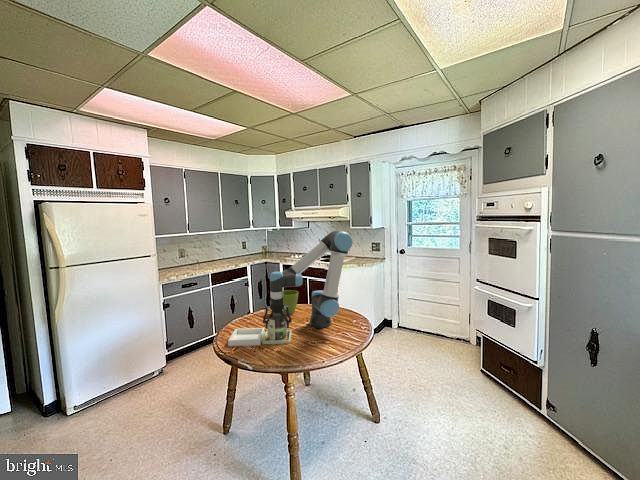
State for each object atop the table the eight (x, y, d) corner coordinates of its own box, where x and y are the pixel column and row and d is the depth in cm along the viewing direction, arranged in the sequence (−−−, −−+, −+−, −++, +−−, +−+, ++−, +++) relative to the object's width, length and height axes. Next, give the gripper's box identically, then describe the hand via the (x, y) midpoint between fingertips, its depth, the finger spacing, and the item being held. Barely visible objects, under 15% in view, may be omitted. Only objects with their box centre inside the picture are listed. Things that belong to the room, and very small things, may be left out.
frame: (291, 332, 189) (291, 330, 189) (290, 343, 174) (290, 340, 173) (266, 333, 189) (266, 330, 189) (262, 344, 173) (262, 341, 173)
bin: (264, 333, 189) (264, 327, 188) (260, 345, 171) (260, 339, 171) (235, 334, 188) (235, 328, 188) (228, 346, 170) (228, 340, 170)
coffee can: (288, 335, 185) (287, 313, 184) (283, 342, 175) (282, 318, 174) (272, 334, 187) (272, 312, 186) (266, 340, 177) (265, 317, 176)
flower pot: (275, 313, 227) (274, 292, 226) (289, 308, 239) (288, 289, 237) (288, 317, 218) (288, 296, 216) (302, 312, 229) (302, 292, 228)
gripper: (295, 295, 183) (296, 330, 185) (258, 296, 182) (259, 331, 184) (295, 299, 176) (296, 335, 178) (256, 299, 175) (257, 336, 177)
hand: (277, 333), depth 181 cm, fingers closed on coffee can, 10 cm apart
